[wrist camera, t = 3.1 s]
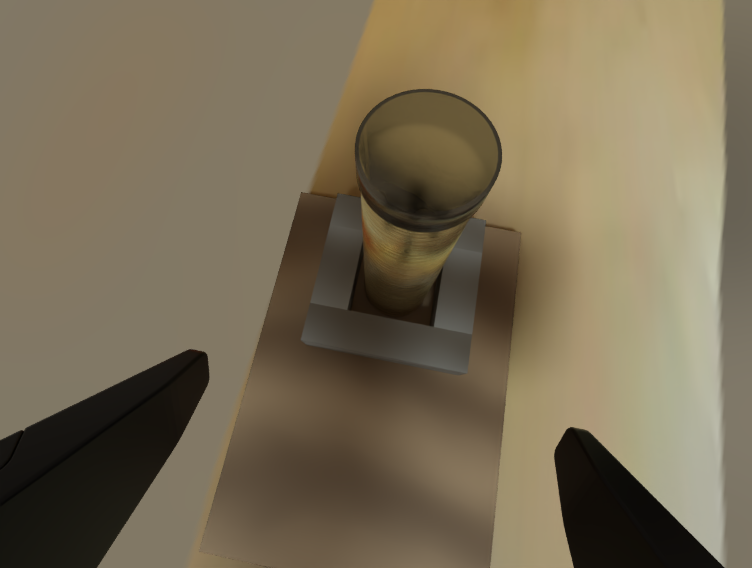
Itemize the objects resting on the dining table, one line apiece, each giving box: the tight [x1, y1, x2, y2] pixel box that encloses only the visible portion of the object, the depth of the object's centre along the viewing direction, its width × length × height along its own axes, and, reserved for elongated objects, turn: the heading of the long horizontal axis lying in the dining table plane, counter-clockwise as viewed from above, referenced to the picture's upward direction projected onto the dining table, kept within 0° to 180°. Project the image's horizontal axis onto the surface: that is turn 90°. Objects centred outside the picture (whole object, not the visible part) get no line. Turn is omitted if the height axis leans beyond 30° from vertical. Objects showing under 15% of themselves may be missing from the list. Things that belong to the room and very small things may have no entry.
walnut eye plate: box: [199, 192, 521, 568], centre depth 20 cm, size 20×14×3 cm
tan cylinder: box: [355, 89, 502, 316], centre depth 16 cm, size 4×4×13 cm
